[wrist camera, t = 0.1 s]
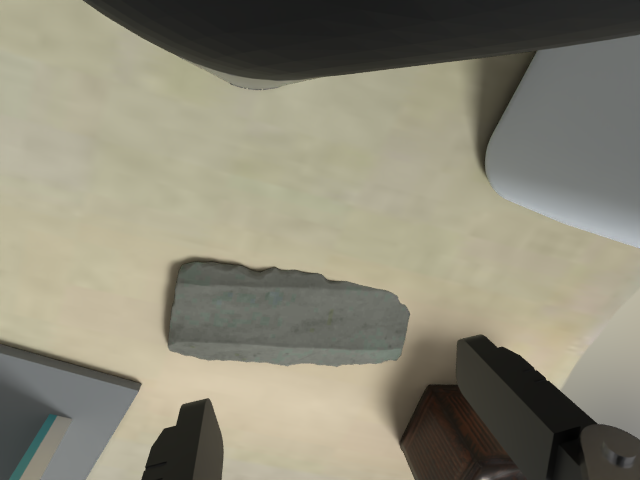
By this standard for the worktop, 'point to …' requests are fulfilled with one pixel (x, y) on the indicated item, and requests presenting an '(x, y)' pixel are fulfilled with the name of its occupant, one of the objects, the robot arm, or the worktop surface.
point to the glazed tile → (41, 449)
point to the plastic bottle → (575, 139)
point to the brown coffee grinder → (453, 441)
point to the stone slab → (282, 317)
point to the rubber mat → (58, 411)
